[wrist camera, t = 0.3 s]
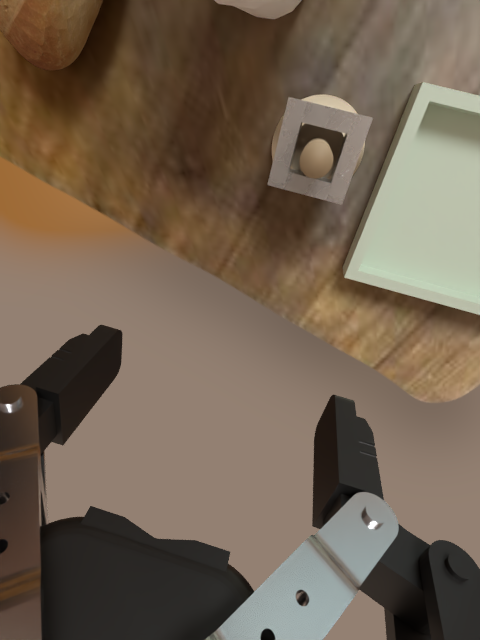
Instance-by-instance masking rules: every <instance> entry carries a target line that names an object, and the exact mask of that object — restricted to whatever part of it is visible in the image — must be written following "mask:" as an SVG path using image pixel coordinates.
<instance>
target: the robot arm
mask: <svg viewBox="0 0 480 640" xmlns="http://www.w3.org/2000/svg"><path fill="white" fill-rule="evenodd" d="M121 355H122V332H121V330H118V329H114V328H111V327H108V326H104V325H100V326H98V327H97V328H96V329H95V330H94V331H93V332H92V333H91V334H90V335H86V334H81V335H79V336H77V337H74V338H72V339H70V340H68V341H67V342H66V343H65V344H64V345H63V346H62V347H61V348H60V350H57V351H56V352H55V353H54V354H53V355H52V357H51V358H49V359H47V361H45V362H44V363H43V364H42V365H41V366H40V367H39V368H37V369H36V370H35V371H34V372H33V373H32V374H31V375H30V376H29V377H27V378H26V379H25V380H24V381H23V382H22V383H21V384H20V385H19V384H15V385H7V386H4V387H1V388H0V640H323V639H324V638H325V636H326V635H327V633H328V632H329V631H330V629H331V628H332V627H333V625H334V624H335V622H336V621H337V620H338V618H339V617H340V615H341V614H342V613H343V612H344V610H345V609H346V607H347V606H348V605H349V603H350V602H351V600H352V599H353V598H354V596H355V595H356V594H357V592H358V590H361V591H362V592H364V593H365V594H367V595H368V596H369V597H371V598H372V599H373V600H375V601H376V602H378V603H379V604H380V605H382V606H383V607H384V609H385V622H386V635H387V640H480V569H479V568H478V566H477V564H476V563H475V562H474V560H473V559H472V558H471V557H470V556H469V555H468V554H467V553H466V552H465V551H464V550H463V549H461V548H460V547H459V546H457V545H455V544H453V543H451V542H449V541H444V540H438V541H435V542H434V543H432V545H429V544H427V543H426V542H424V541H422V540H421V539H419V538H417V537H416V536H414V535H413V534H411V533H410V532H408V531H407V530H405V529H404V528H403V527H402V526H400V525H399V524H398V521H397V518H396V516H395V514H394V512H393V510H392V509H391V508H390V506H389V505H388V504H387V503H386V502H385V501H384V499H383V493H382V487H381V481H380V474H379V468H378V462H377V458H376V456H377V455H376V449H375V447H374V446H375V443H374V437H373V432H372V430H371V428H370V427H369V425H368V423H367V421H366V420H365V419H363V418H360V417H357V416H356V410H355V403H354V401H353V400H350V399H347V398H343V397H340V396H336V395H332V396H331V397H330V399H329V401H328V403H327V406H326V408H325V410H324V412H323V414H322V416H321V418H320V420H319V422H318V425H317V427H316V431H315V437H314V476H313V525H312V526H313V527H316V528H319V529H320V530H319V531H318V532H317V533H316V534H315V535H314V536H313V535H311V536H310V537H309V538H308V539H306V540H305V542H303V543H302V544H301V545H300V546H299V548H298V549H296V551H295V552H293V553H292V554H291V556H290V557H288V558H287V560H286V561H285V562H284V563H283V564H282V565H281V566H280V567H279V568H278V569H277V570H276V571H275V572H274V573H273V574H272V575H271V576H270V577H269V578H268V579H267V580H266V581H265V582H264V583H263V584H262V585H261V586H260V587H259V588H258V589H257V590H256V591H255V592H254V590H253V589H252V587H251V586H250V584H249V583H248V582H247V580H246V579H245V578H244V577H243V576H242V575H241V574H240V573H239V572H238V571H237V570H236V569H235V568H234V567H232V566H231V565H229V564H228V560H229V555H230V552H229V551H226V550H223V549H220V548H217V547H214V546H211V545H208V544H205V543H201V542H199V541H195V540H171V539H169V540H168V539H156V538H154V537H152V536H151V535H149V534H148V533H146V532H145V531H144V530H142V529H141V528H139V527H138V526H136V525H135V524H134V523H132V522H131V521H129V520H128V519H126V518H125V517H123V516H119V515H116V514H113V513H110V512H107V511H104V510H101V509H98V508H95V507H92V506H90V508H89V510H88V511H87V513H86V515H85V517H72V518H66V519H61V520H58V521H54V522H51V523H49V521H48V510H47V494H46V472H45V453H44V450H45V449H46V447H47V446H48V445H49V444H50V443H51V442H54V443H57V444H61V445H64V443H65V442H66V441H67V439H68V438H69V437H70V436H71V434H72V433H73V432H74V431H75V429H76V428H77V427H78V425H79V424H80V423H81V422H82V420H83V419H84V418H85V416H86V415H87V414H88V412H89V411H90V410H91V409H92V407H93V406H94V405H95V403H96V402H97V401H98V400H99V398H100V397H101V396H102V394H103V393H104V392H105V390H106V389H107V388H108V387H109V385H110V384H111V383H112V381H113V380H114V379H115V377H116V376H117V374H118V372H119V369H120V366H121Z"/></svg>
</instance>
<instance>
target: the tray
mask: <svg viewBox="0 0 480 640" xmlns="http://www.w3.org/2000/svg"><path fill="white" fill-rule="evenodd" d="M343 274H344V278H348V279H352V280H355V281H359V282H362V283H366V284H370V285H373V286H377V287H380V288H384V289H388V290H391V291H395V292H399V293H402V294H406V295H409V296H413V297H417V298H420V299H424V300H427V301H431V302H435V303H438V304H442V305H445V306H449V307H453V308H456V309H460V310H464V311H467V312H471V313H474V314H478V315H480V96H478V95H474V94H470V93H466V92H461V91H457V90H453V89H449V88H445V87H441V86H437V85H433V84H428V83H424V82H422V83H419V84H416V85H414V87H413V90H412V92H411V95H410V98H409V100H408V103H407V105H406V108H405V110H404V113H403V115H402V118H401V120H400V123H399V125H398V128H397V131H396V133H395V136H394V138H393V141H392V143H391V146H390V148H389V151H388V153H387V156H386V158H385V161H384V164H383V166H382V169H381V171H380V174H379V176H378V179H377V181H376V184H375V186H374V189H373V191H372V194H371V197H370V199H369V202H368V204H367V207H366V209H365V212H364V214H363V217H362V219H361V222H360V224H359V227H358V230H357V232H356V235H355V237H354V240H353V242H352V245H351V247H350V250H349V252H348V255H347V257H346V260H345V263H344V265H343Z"/></svg>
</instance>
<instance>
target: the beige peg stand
mask: <svg viewBox="0 0 480 640" xmlns="http://www.w3.org/2000/svg"><path fill="white" fill-rule="evenodd" d="M302 100H303V101H307V102H311V103H315V104H319V105H323V106H327V107H332V108H336V109H340V110H344V111H348V112H352V113H356V114H357V112H356V111H355V110H354V109H353V107H352V106H351V105H350V104H348V103H347V102H346V101H344V100H342V99H340V98H338V97H335V96H332V95H313V96H310V97H307V98H304V99H302ZM283 118H284V115H283V117H282V118H281V119H280V121H279V123H278V125H277V127H276V129H275V132H274V136H273V140H272V159H273V160H274V155H275V151H276V147H277V143H278V139H279V135H280V131H281V127H282V123H283ZM344 136H345V133H342V132H338V131H334V130H330V129H326V128H322V127H318V126H314V125H310V124H306V123H302V126H301V130H300V134H299V137H298V141H297V145H296V148H295V152H294V156H293V160H292V163H291V167H290V168H291V169H295V170H299V171H302V172H303V173H304V174H305V175H306V176H307V177H309V178H314V179H316V178H321V177H326V178H331V175H332V172H333V169H334V166H335V163H336V160H337V157H338V154H339V151H340V148H341V145H342V142H343V139H344ZM364 147H365V142H364V144H363V147H362V150H361V153H360V156H359V158H358V161H357V164H356V167H355V170H354V172H353V175H354V173H355V172H356V170H357V168H358V167H359V165H360V162H361V160H362V157H363V153H364ZM353 175H352V176H353Z"/></svg>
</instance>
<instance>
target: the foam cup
mask: <svg viewBox="0 0 480 640" xmlns="http://www.w3.org/2000/svg"><path fill="white" fill-rule="evenodd" d="M214 1H215V2H217V3H218V4H223V5H231V6H234V7H236V8H239V9H241V10H243V11H245V12H247V13H249V14H251V15H253V16H256V17H261V18H268V19H277V18H279V17H281V16H284V15H286V14H288V13H290V12H292V11H293V10H294V9H295V8H296V7H297V5H298V4H299V3H300V2H301V1H302V0H214Z"/></svg>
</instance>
